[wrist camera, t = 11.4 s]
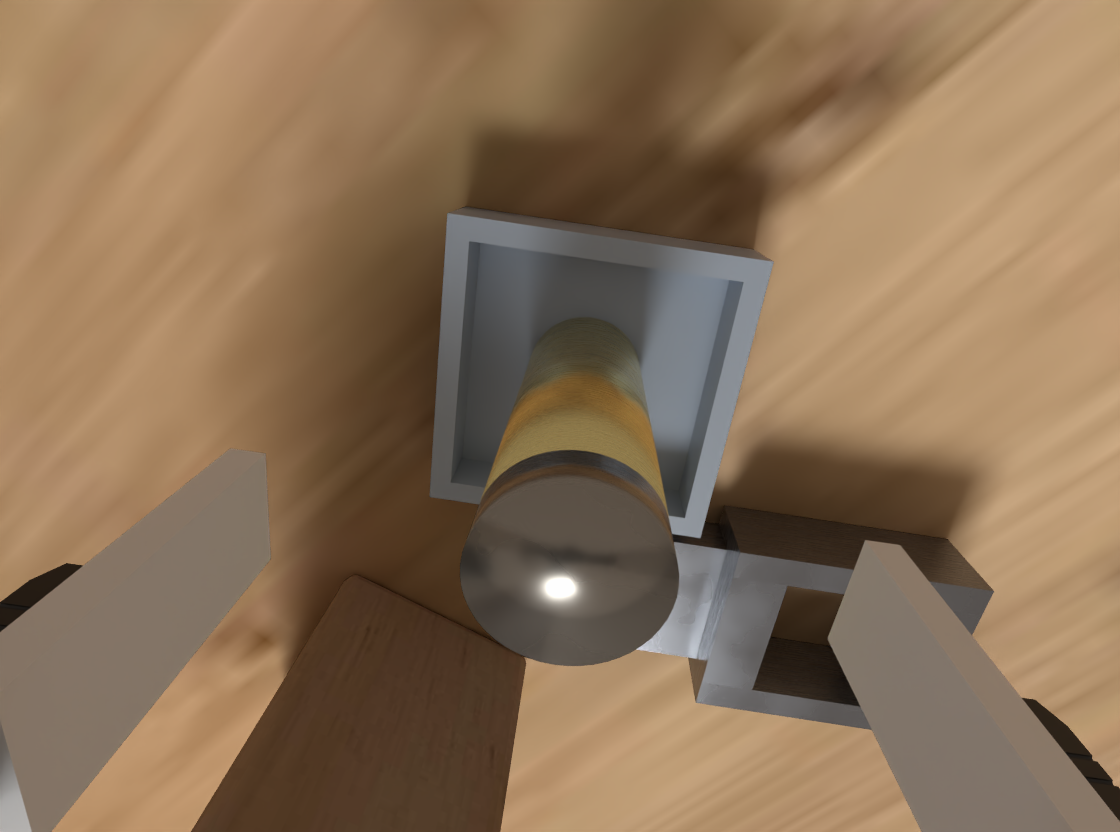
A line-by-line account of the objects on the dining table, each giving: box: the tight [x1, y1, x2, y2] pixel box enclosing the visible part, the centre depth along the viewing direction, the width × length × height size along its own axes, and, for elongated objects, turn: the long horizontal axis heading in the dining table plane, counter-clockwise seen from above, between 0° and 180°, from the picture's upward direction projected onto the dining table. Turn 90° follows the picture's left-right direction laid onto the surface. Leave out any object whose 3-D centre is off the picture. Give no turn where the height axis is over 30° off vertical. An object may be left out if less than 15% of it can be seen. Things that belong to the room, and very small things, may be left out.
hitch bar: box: [637, 505, 994, 730], centre depth 28 cm, size 18×8×4 cm, turn 82°
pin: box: [460, 317, 679, 666], centre depth 19 cm, size 4×4×14 cm
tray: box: [430, 207, 773, 538], centre depth 24 cm, size 11×11×3 cm
